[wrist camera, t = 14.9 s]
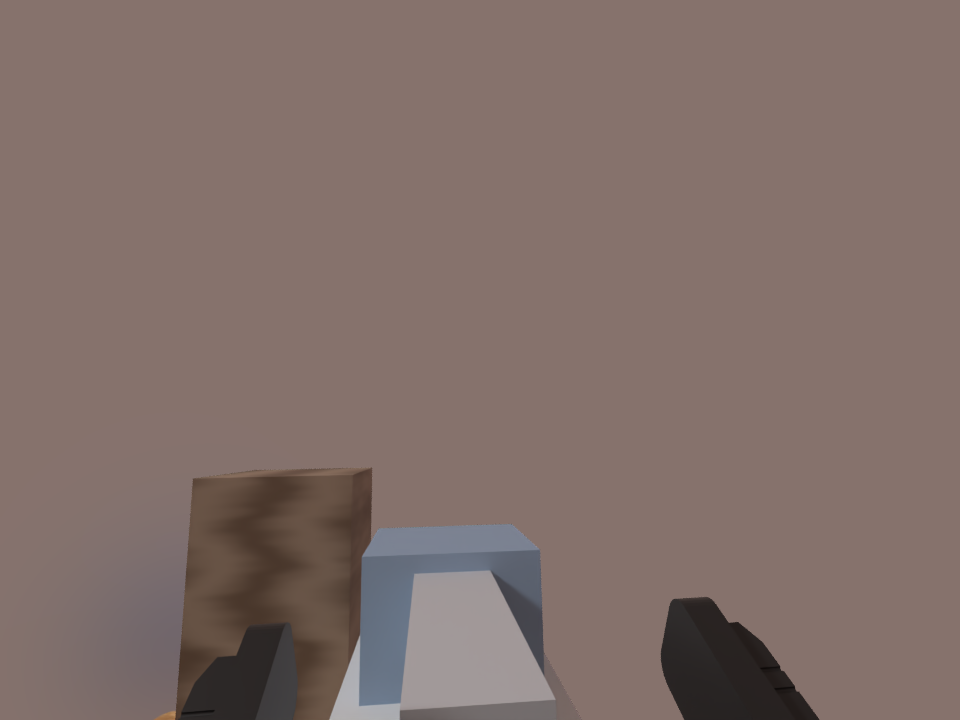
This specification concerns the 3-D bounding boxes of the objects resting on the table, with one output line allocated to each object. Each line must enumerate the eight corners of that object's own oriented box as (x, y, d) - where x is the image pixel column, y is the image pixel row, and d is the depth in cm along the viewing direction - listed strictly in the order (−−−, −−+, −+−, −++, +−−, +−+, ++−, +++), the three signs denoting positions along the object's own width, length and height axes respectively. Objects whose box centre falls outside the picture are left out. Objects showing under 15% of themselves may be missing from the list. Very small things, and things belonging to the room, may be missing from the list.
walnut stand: (148, 1090, 27) (193, 478, 33) (232, 897, 39) (255, 470, 45) (338, 1064, 28) (352, 474, 34) (364, 883, 40) (372, 467, 46)
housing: (276, 1016, 10) (290, 676, 11) (377, 637, 29) (378, 528, 30) (674, 966, 11) (653, 654, 12) (514, 629, 30) (511, 524, 31)
